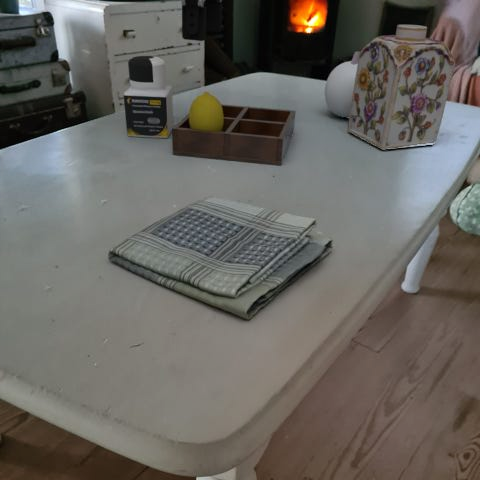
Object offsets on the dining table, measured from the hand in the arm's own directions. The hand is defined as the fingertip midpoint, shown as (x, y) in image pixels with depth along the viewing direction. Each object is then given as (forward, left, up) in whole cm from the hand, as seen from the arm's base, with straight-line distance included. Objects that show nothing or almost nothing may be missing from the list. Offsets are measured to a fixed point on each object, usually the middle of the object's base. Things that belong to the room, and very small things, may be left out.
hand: (202, 35), depth 75 cm
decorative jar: (+31, +16, -17) cm, 38 cm away
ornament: (+23, +29, -17) cm, 40 cm away
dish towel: (+11, -35, -17) cm, 40 cm away
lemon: (0, 0, -16) cm, 16 cm away
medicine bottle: (-11, +7, -17) cm, 21 cm away
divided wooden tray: (+5, +5, -17) cm, 18 cm away
